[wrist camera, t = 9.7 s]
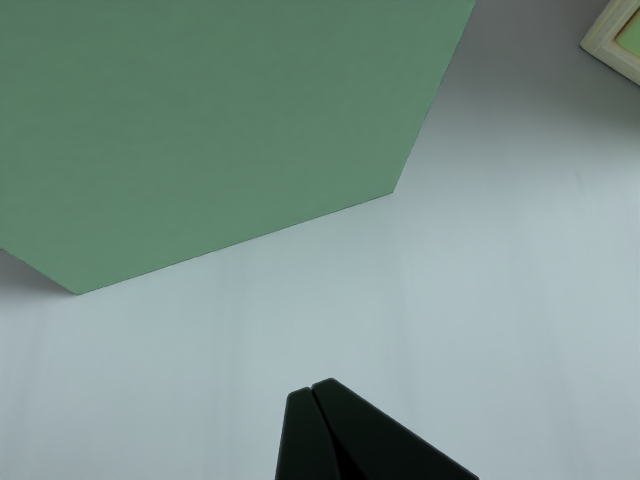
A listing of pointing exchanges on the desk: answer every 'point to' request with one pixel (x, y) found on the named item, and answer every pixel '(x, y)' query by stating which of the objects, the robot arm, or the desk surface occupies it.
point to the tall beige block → (617, 38)
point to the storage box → (202, 121)
